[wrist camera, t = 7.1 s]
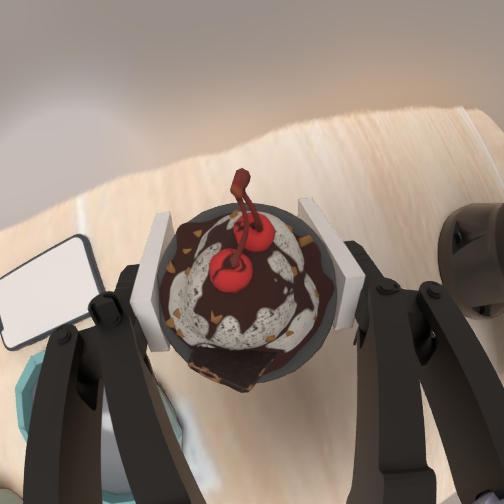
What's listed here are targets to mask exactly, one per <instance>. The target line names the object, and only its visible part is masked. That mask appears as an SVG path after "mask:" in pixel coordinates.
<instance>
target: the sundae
mask: <svg viewBox="0 0 504 504" xmlns="http://www.w3.org/2000/svg"><path fill="white" fill-rule="evenodd" d="M249 182H250V174H249V172H248V171H247V170H245V169H243V168H241V169H239V170H237V171H236V173H235V176H234V179H233V182H232V186H231V189H230V191H231V193H232V194H233V195H234V196H235V198H236V200H237V202H238V203H231V204H226V205H222V206H218V207H215V208H212V209H209V210H207V211H204V212H202V213H200V214H199V215H197V216H196V217H194V218H193V219H192V220H190V221H189V222H187V223H184V224H182V225H180V226H179V228H178V229H177V231H176V234H175V235H174V237H173V239H172V240H171V242H170V243H169V245H168V247H167V248H166V250H165V253H164V255H163V257H162V259H161V262H160V265H159V269H158V274H157V282H158V294H159V316H160V324H161V326H162V329H163V331H164V334H165V336H166V338H167V340H168V341H169V342H170V344H171V345H172V346H173V348H174V349H175V350H176V352H177V353H178V354H179V355H180V356H181V357H182V358H183V359H184V360H185V361H186V362H187V363H188V366H189V367H190V368H191V369H193V370H194V371H196V372H197V373H199V374H201V375H202V376H204V377H206V378H208V379H210V380H212V381H215V382H217V383H220V384H223V385H226V386H229V387H230V388H232V389H234V390H236V391H239V392H241V393H244V392H249V391H250V390H251V389H252V388H253V387H254V386H255V384H256V383H264V382H267V381H271V380H274V379H278V378H280V377H283V376H285V375H287V374H289V373H292V372H294V371H296V370H297V369H298V368H300V367H301V366H302V365H303V364H305V363H306V362H307V361H308V360H310V358H311V357H312V356H313V355H314V354H315V353H316V352H317V351H318V350H319V349H320V348H321V347H322V345H323V343H324V341H325V339H326V337H327V335H328V333H329V331H330V329H331V326H332V323H333V321H334V318H335V312H336V305H337V287H336V276H335V270H334V266H333V262H332V260H331V257H330V255H329V253H328V250H327V248H326V246H325V244H324V243H323V242H322V240H321V239H320V238H319V236H318V235H317V234H316V233H315V231H314V230H313V229H311V228H310V227H309V226H308V225H307V224H306V223H305V222H304V221H303V220H302V219H300V218H298V217H296V216H294V215H293V214H291V213H289V212H287V211H285V210H282V209H279V208H277V207H274V206H269V205H264V204H256V203H252V201H251V200H250V198H249V197H248V195H247V194H246V192H245V188H246V187H247V185H248V184H249ZM242 197H243V199H244V200H245V202H246V203H244V202H243V199H242Z"/></svg>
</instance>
